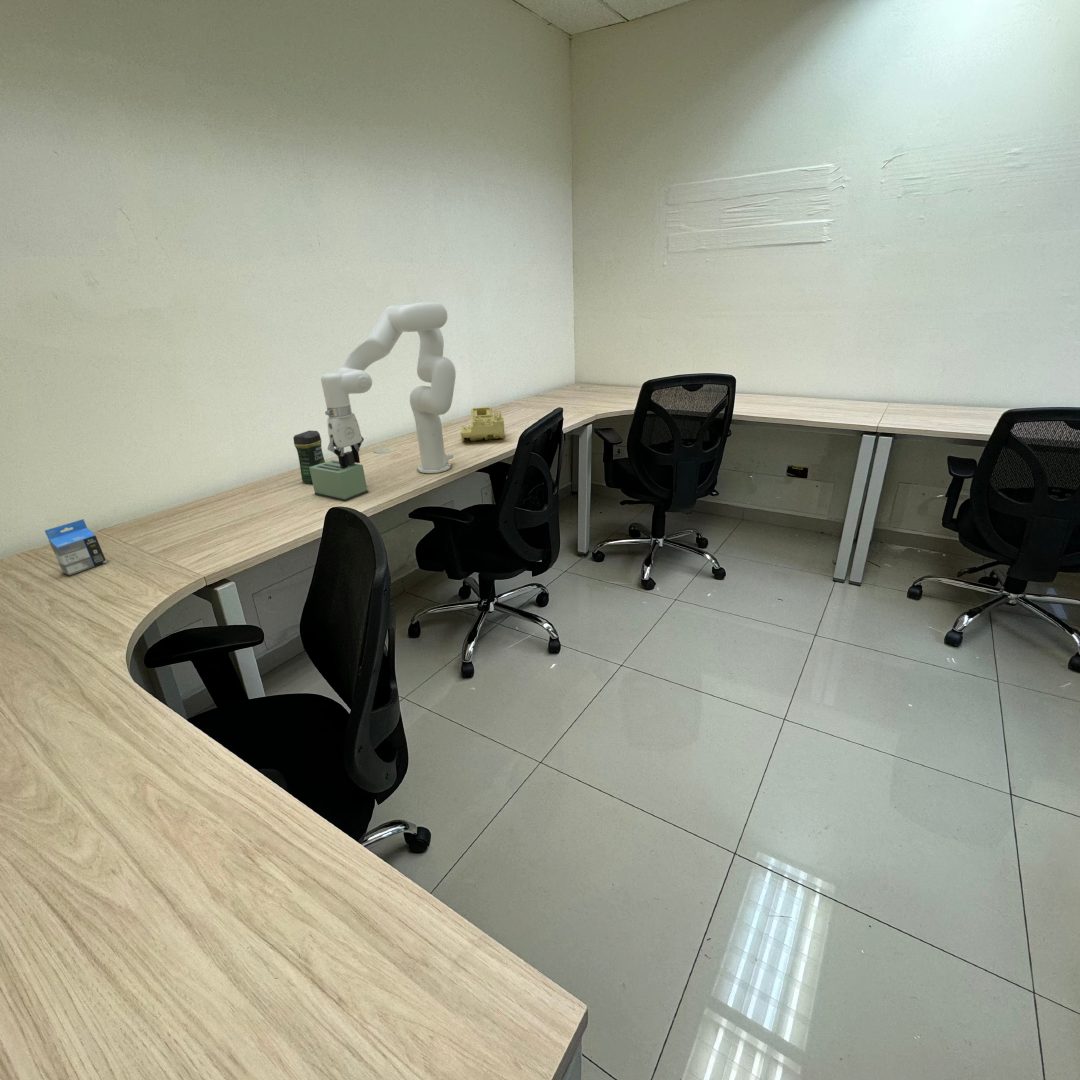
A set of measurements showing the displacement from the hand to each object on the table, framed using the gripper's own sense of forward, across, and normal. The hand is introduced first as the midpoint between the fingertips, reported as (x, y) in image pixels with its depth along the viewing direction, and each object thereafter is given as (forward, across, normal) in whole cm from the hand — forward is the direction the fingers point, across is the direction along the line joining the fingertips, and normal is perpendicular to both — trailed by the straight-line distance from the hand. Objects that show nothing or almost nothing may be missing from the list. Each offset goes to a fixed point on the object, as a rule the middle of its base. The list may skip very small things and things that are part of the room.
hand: (350, 464), depth 190 cm
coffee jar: (+11, +3, +26) cm, 28 cm away
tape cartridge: (+11, -75, +20) cm, 78 cm away
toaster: (+10, -3, +4) cm, 12 cm away
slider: (0, 0, 0) cm, 0 cm away
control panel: (+11, +79, +5) cm, 80 cm away
